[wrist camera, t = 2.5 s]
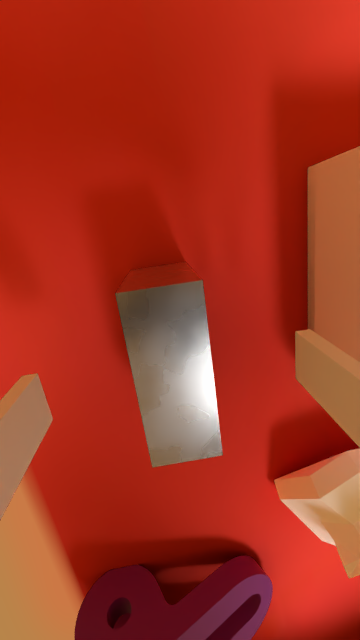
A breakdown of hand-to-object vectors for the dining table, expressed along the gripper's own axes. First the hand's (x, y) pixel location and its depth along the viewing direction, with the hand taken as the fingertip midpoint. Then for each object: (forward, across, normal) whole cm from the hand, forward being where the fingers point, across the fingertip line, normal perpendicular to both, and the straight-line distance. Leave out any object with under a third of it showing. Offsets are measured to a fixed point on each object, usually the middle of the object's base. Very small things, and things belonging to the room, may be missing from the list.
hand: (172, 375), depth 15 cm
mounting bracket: (+8, +3, +30) cm, 31 cm away
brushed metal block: (+8, 0, 0) cm, 8 cm away
